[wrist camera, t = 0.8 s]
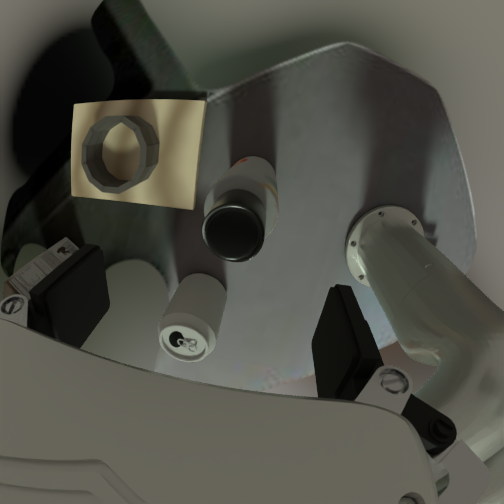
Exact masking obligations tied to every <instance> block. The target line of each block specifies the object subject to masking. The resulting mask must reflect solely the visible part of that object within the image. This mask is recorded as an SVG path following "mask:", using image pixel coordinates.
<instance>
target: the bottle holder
mask: <svg viewBox="0 0 504 504" xmlns="http://www.w3.org/2000/svg"><path fill="white" fill-rule="evenodd" d="M206 107H207V102H206V101H197V100H171V99H143V100H117V101H102V102H92V103H82V104H75V105H74V113H73V125H72V145H71V188H72V196H79V197H89V198H98V199H108V200H117V201H125V202H134V203H142V204H150V205H158V206H166V207H174V208H181V209H189V210H194V208H195V206H196V194H197V183H198V173H199V163H200V154H201V145H202V137H203V129H204V121H205V114H206Z"/></svg>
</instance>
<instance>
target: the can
mask: <svg viewBox="0 0 504 504" xmlns="http://www.w3.org/2000/svg"><path fill="white" fill-rule="evenodd" d="M226 300H227V295H226V291H225V289H224V287H223V285H222V284H221V283H220V282H219V281H218V280H217V279H215V278H213V277H212V276H210V275H206V274H202V273H198V274H191V275H189V276H186V277H185V278H184V279H183V280H182V281H181V283H180V285H179V286H178V288H177V290H176V292H175V294H174V296H173V298H172V299H171V301H170V303H169V305H168V307H167V309H166V311H165V313H164V315H163V317H162V319H161V320H160V323H159V325H158V334H159V342H160V344H161V347H162V348H163V349H164V350H165V352H166V353H168V354H169V355H170V356H172V357H173V358H176V359H178V360H181V361H184V362H196V361H200V360H202V359H204V358H205V357H206V355H207V354H209V353H211V352H212V350H213V349H214V348H215V345H216V341H217V337H218V333H219V329H220V325H221V320H222V316H223V312H224V308H225V304H226Z"/></svg>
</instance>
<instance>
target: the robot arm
mask: <svg viewBox="0 0 504 504" xmlns="http://www.w3.org/2000/svg"><path fill="white" fill-rule="evenodd" d="M379 212H380V214H378V213H379ZM352 241H353V242H352ZM351 242H352V243H351ZM345 259H346V263H347V266H348V268H349V270H350V272H351V274H352V275H353V277H354V278H355V279H356V280H357V281H358V282H360V283H361V284H363V285H365V286H368V287H370V288H372V290H373V291H374V293H375V295H376V297H377V299H378V301H379V303H380V305H381V307H382V309H383V311H384V312H385V314H386V316H387V318H388V320H389V322H390V324H391V327H392V329H393V331H394V333H395V335H396V337H397V339H398V341H399V343H400V345H401V346H402V348H403V350H404V351H405V352H406V353H407V355H409V356H410V357H411V358H413V359H414V360H416V361H418V362H421V363H425V364H428V365H435V366H438V368H437V370H436V372H435V374H434V375H433V376H432V377H431V378H430V379H429V380H428V381H427V382H426V383H425V384H424V385H423V387H422V388H421V389H420V390H418V391H417V392H416V393H415V394H414V395H413V394H411V392H412V388H413V384H412V380H411V378H410V376H409V375H408V374H407V373H406V372H405V371H403V370H402V369H401V368H398V367H396V366H391V365H385V366H384V363H383V361H382V358H381V355H380V353H379V350H378V347H377V345H376V342H375V340H374V337H373V335H372V332H371V330H370V327H369V325H368V323H367V321H366V320H365V319H364V317H363V314H362V312H361V309H360V307H359V304H358V302H357V300H356V297H355V295H354V293H353V290H352V288H351V286H347V285H340V284H336V285H335V287H331V288H330V289H329V292H328V295H327V298H326V301H325V304H324V307H323V310H322V313H321V316H320V319H319V322H318V325H317V328H316V330H315V333H314V336H313V339H312V353H313V361H314V368H315V376H316V384H317V392H318V398H317V397H305V396H292V395H282V394H274V393H265V392H257V391H249V390H242V389H235V388H229V387H223V386H217V385H212V384H207V383H202V382H197V381H192V380H187V379H182V378H178V377H174V376H169V375H165V374H161V373H157V372H153V371H149V370H146V369H142V368H138V367H135V366H131V365H127V364H125V363H121V362H118V361H115V360H111V359H108V358H105V357H102V356H99V355H96V354H93V353H90V352H88V351H85V350H82V349H80V347H81V346H82V345H83V343H84V342H85V341H86V339H87V338H88V336H89V335H90V334H91V332H92V331H93V330H94V328H95V327H96V326H97V324H98V323H99V321H100V320H101V319H102V317H103V316H104V315H105V314H106V312H107V311H108V309H109V306H110V300H109V294H108V287H107V280H106V273H105V265H104V256H103V251H102V250H101V249H100V247H99V246H98V245H92V244H85V245H84V246H83V247H81V248H80V249H79V250H77V251H76V252H75V253H74V254H72V255H71V256H70V257H69V258H67V259H66V260H65V261H64V262H62V263H61V264H60V265H59V266H58V267H56V268H55V269H54V270H53V271H52V272H50V273H49V274H48V275H47V276H46V277H45V278H43V279H42V280H41V281H40V282H39V283H38V284H36V285H35V286H34V287H33V288H32V289H31V290H30V291H29V294H30V298H31V299H30V300H29V301H28V299H27V298H26V297H25V296H24V295H20V294H16V295H11V296H9V297H7V298H5V299H4V300H2V301H1V303H0V504H504V311H503V310H502V309H500V308H499V307H498V306H497V305H496V304H495V303H493V302H492V301H491V300H490V299H489V298H488V297H487V296H486V295H485V294H484V293H483V292H482V291H481V290H480V289H479V288H478V287H477V286H476V285H475V284H474V283H473V282H472V281H471V280H470V279H469V278H468V277H467V276H466V275H465V274H464V273H463V272H462V271H461V270H459V269H458V268H457V267H456V266H455V265H454V264H453V263H452V262H451V261H450V260H449V259H448V258H447V257H446V256H445V255H444V254H442V253H441V252H440V251H439V250H438V249H437V248H436V247H435V246H434V245H432V244H431V243H430V242H429V241H428V240H427V239H426V238H425V234H424V230H423V227H422V225H421V223H420V221H419V220H418V218H417V217H416V216H415V215H414V214H413V213H411V212H410V211H409V210H407V209H405V208H403V207H400V206H396V205H384V206H379V207H377V208H374V209H372V210H370V211H368V212H367V213H365V214H364V215H363V216H362V217H361V218H360V219H358V221H357V222H356V223H355V224H354V226H353V227H352V229H351V231H350V233H349V235H348V238H347V241H346V246H345Z"/></svg>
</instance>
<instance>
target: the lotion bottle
mask: <svg viewBox="0 0 504 504" xmlns="http://www.w3.org/2000/svg"><path fill="white" fill-rule="evenodd" d="M278 213H279V204H278V193H277V182H276V175H275V171H274V169H273V167H272V166H271V165H270V163H269V162H267V161H266V160H265V159H263V158H260V157H256V156H250V157H245V158H243V159H241V160H239V161H238V162H237V163H236V164H234V165H233V166H232V167H231V168H230V169H229V170H228V171H227V172H226V173H225V174H224V175H223V176H222V177H221V178H220V179H219V180H218V181H217V182H216V183H215V184H214V185H213V187H212V188H211V189H210V191H209V192H208V194H207V197H206V200H205V204H204V215H205V219H204V221H203V224H202V230H201V231H202V237H203V240H204V242H205V244H206V246H207V247H208V248H209V249H210V250H211V251H212V252H213V253H214V254H215V255H217V256H218V257H220V258H222V259H224V260H227V261H231V262H244V261H247V260H250V259H251V258H253V257H254V256H255V255H256V254H257V253H258V252H259V251H260V249H261V248H262V245H263V242H264V239H265V238H266V237H267V236H268V235H269V234H270V233H271V232H272V230H273V229H274V227H275V225H276V223H277V219H278Z"/></svg>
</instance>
